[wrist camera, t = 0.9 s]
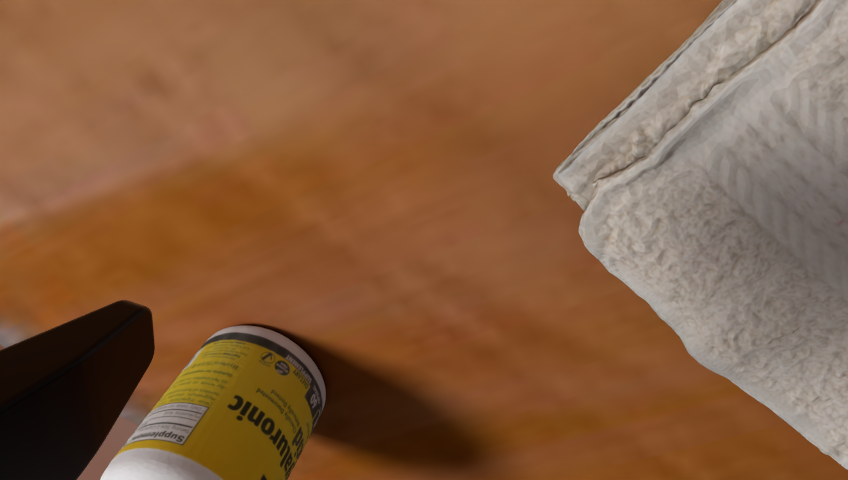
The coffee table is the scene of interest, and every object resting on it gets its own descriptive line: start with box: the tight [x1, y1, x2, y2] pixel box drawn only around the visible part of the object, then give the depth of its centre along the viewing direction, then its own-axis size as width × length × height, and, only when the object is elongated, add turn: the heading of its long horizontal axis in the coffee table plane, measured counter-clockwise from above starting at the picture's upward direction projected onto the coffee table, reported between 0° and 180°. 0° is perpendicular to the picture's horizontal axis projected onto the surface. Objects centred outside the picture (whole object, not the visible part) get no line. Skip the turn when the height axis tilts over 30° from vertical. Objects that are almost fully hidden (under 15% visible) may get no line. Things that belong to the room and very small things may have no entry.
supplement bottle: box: [100, 325, 326, 480], centre depth 25 cm, size 5×5×10 cm
